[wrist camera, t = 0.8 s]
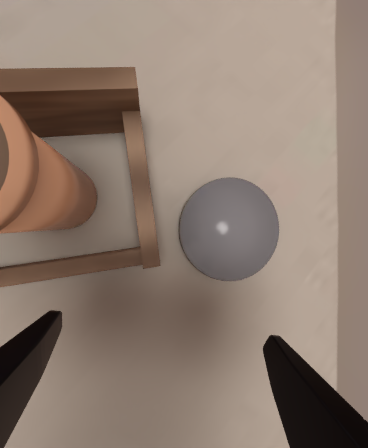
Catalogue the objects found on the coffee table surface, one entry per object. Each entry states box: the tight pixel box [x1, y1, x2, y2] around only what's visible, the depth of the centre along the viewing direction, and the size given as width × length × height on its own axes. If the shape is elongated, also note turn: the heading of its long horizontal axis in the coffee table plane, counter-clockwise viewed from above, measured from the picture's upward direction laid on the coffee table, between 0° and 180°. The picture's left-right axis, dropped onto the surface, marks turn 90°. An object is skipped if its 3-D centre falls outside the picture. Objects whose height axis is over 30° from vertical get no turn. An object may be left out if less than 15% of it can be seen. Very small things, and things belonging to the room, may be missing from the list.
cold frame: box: [0, 67, 160, 287], centre depth 17 cm, size 15×17×7 cm
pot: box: [0, 95, 97, 233], centre depth 14 cm, size 7×7×13 cm
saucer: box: [179, 178, 279, 281], centre depth 23 cm, size 11×11×1 cm
